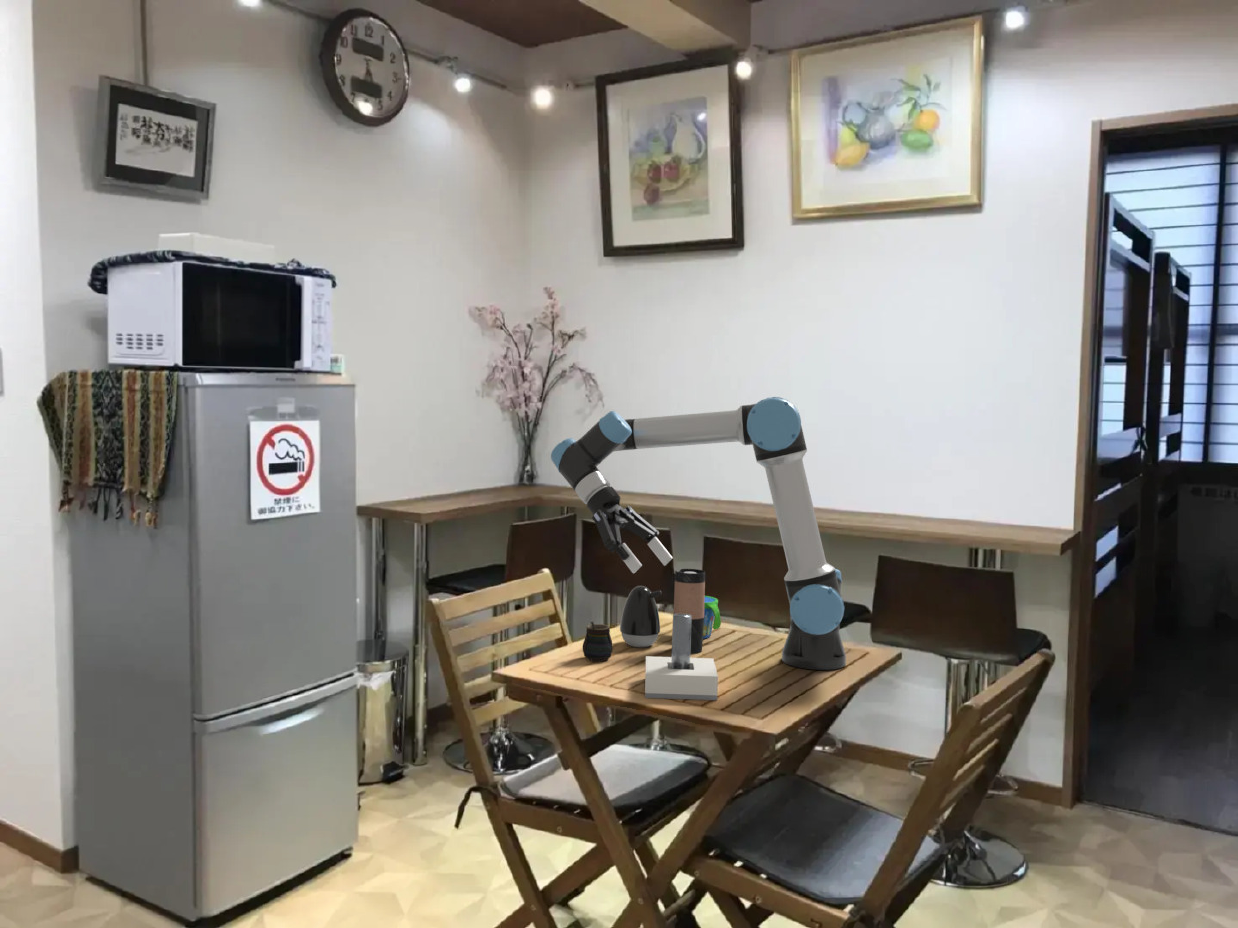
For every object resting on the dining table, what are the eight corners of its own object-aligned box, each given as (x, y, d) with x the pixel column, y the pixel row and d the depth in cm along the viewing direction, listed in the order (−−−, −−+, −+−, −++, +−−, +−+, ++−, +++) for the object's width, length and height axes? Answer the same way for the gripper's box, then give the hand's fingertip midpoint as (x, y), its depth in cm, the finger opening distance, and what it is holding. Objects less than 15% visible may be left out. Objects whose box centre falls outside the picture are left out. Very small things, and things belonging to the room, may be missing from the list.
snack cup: (730, 640, 262) (732, 602, 262) (698, 644, 257) (699, 605, 256) (695, 628, 276) (696, 592, 275) (663, 632, 270) (664, 595, 269)
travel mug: (706, 653, 247) (708, 573, 246) (676, 654, 246) (678, 573, 245) (698, 646, 255) (701, 568, 254) (669, 646, 253) (671, 568, 252)
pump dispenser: (654, 651, 248) (656, 590, 248) (614, 647, 251) (616, 587, 250) (664, 642, 258) (666, 584, 257) (625, 639, 261) (627, 581, 260)
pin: (688, 682, 217) (691, 613, 217) (689, 687, 213) (691, 617, 213) (670, 681, 218) (672, 613, 217) (670, 686, 214) (673, 616, 213)
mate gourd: (615, 656, 242) (616, 616, 241) (608, 664, 235) (610, 622, 234) (586, 654, 244) (587, 613, 243) (579, 662, 236) (580, 620, 235)
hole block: (712, 680, 223) (713, 658, 222) (717, 700, 208) (717, 676, 208) (645, 678, 223) (645, 656, 223) (644, 697, 208) (645, 674, 208)
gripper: (617, 502, 245) (670, 568, 238) (557, 510, 224) (613, 583, 217) (636, 481, 242) (690, 548, 234) (577, 488, 221) (634, 561, 213)
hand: (653, 565), depth 225 cm, fingers open, 13 cm apart
